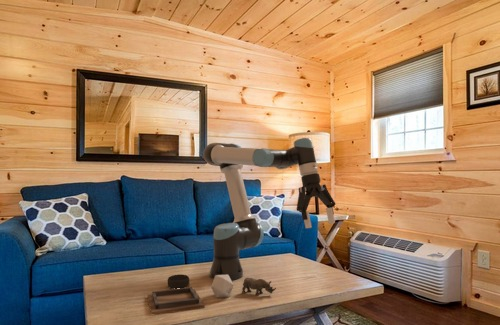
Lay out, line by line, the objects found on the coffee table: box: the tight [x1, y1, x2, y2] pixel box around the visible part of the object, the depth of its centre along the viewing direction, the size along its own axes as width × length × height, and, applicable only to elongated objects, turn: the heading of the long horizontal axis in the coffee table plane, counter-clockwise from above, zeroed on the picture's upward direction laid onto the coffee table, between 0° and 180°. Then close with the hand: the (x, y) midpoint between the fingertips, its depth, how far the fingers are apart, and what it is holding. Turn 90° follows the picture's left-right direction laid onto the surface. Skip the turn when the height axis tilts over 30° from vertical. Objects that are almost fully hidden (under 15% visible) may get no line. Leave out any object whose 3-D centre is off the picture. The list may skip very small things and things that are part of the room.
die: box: [211, 275, 235, 299], centre depth 135 cm, size 8×9×10 cm
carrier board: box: [147, 286, 205, 315], centre depth 129 cm, size 18×18×2 cm
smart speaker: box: [167, 274, 190, 289], centre depth 147 cm, size 9×9×4 cm
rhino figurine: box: [241, 277, 277, 296], centre depth 137 cm, size 4×14×6 cm, turn 69°
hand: (320, 225), depth 142 cm, fingers open, 13 cm apart
